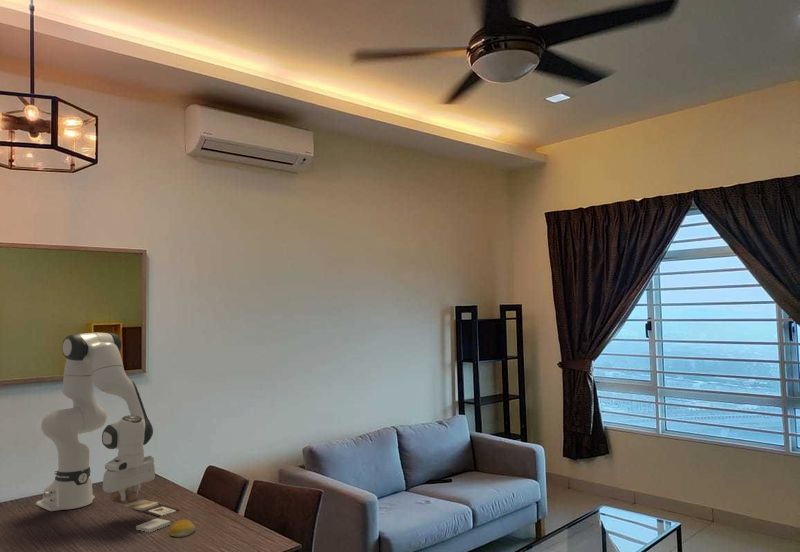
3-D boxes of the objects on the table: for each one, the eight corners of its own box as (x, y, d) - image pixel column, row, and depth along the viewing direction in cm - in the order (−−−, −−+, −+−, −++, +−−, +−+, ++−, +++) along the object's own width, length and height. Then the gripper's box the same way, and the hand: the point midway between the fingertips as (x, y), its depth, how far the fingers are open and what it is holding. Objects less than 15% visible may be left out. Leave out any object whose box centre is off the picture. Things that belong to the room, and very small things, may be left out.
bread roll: (169, 539, 199) (169, 527, 199) (169, 530, 207) (170, 519, 207) (195, 535, 202) (195, 524, 202) (194, 527, 210) (194, 515, 210)
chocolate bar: (153, 501, 238) (179, 509, 228) (153, 504, 238) (179, 512, 228) (132, 507, 231) (157, 516, 221) (132, 510, 231) (157, 518, 221)
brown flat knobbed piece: (106, 502, 217) (106, 491, 217) (122, 497, 223) (123, 486, 223) (142, 510, 208) (142, 499, 208) (158, 504, 214) (158, 493, 215)
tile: (136, 526, 208) (150, 528, 204) (156, 518, 216) (170, 520, 213) (136, 531, 207) (149, 534, 204) (156, 523, 216) (170, 525, 212)
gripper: (148, 453, 228) (146, 489, 227) (100, 465, 210) (99, 505, 209) (159, 455, 225) (158, 492, 224) (112, 467, 207) (111, 507, 206)
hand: (129, 498), depth 216 cm, fingers closed on brown flat knobbed piece, 3 cm apart
